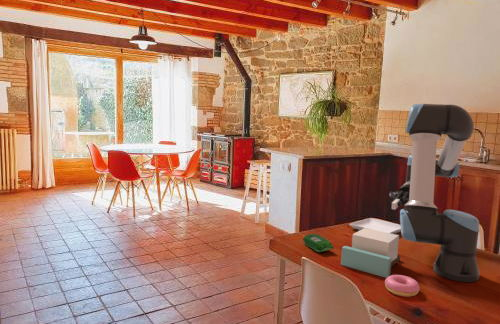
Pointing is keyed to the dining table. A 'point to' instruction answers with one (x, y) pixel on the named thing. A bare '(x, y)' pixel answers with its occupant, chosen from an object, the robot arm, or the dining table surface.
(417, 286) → the doughnut
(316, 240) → the snack package
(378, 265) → the block
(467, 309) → the dining table surface
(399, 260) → the roller bed
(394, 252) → the white box
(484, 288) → the dining table surface
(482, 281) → the dining table surface
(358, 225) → the salad plate
